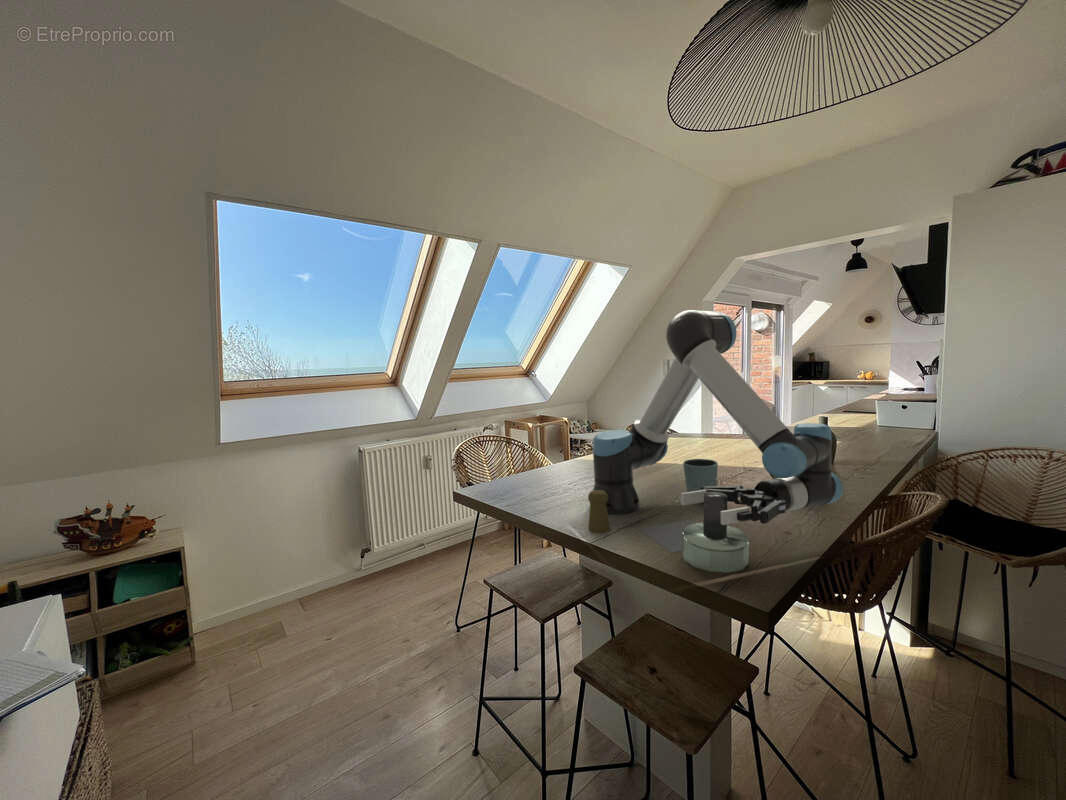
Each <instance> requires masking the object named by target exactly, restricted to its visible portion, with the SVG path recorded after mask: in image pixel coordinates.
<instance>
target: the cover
mask: <svg viewBox="0 0 1066 800" xmlns="http://www.w3.org/2000/svg"><path fill="white" fill-rule="evenodd" d="M724 510H728V501H727V495H726V494H724V493H720V492H706V493H704V502H703V519H702V520H703V521H702V522H694V523H695V524H691V525H689V526H687V527H685V529H684V531H683V551H682V557H683V561H684V562H686V563H688V564H689V565H690V566H692V567H693V568H697V569H700V570H704V571H707V572H710V573H711V572H713V573H716V572H717V573H726V574H728V573H729V574H730V573H733V572H738V571H742V570H744V569H745V568H747V567H746V566H748V565H749V562H750V561H749V560H750V559H749V558H750V556H749V553H750V542H749V537H748V535H747V534H746V533H745V532H744V531H743V530H740V529H739V528H737V527H734V526H731V525H729V524H727V525H722V524H721V511H724Z"/></svg>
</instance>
